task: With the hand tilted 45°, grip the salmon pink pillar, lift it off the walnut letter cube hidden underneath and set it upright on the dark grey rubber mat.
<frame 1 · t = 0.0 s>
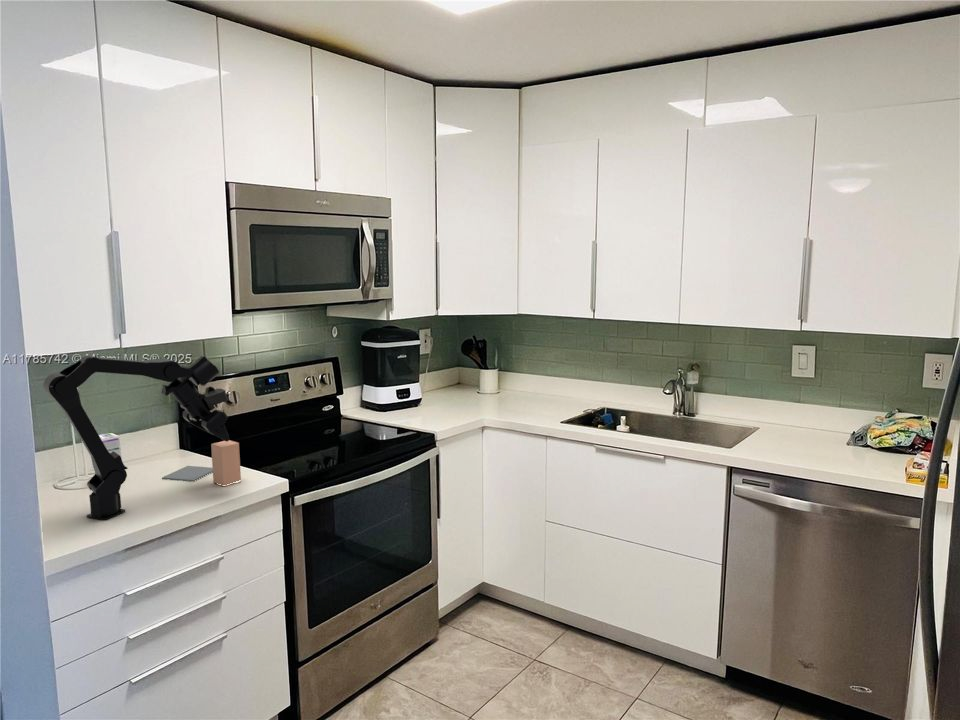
hand: (221, 437, 193), 15 cm above the worktop, tool tilted 35°, fingers open, 9 cm apart
letter cube: (226, 476, 199), in the salmon pink pillar
salmon pink pillar: (227, 482, 199), on the worktop
syrup box: (110, 483, 199), on the worktop
rubber mat: (190, 474, 207), on the worktop
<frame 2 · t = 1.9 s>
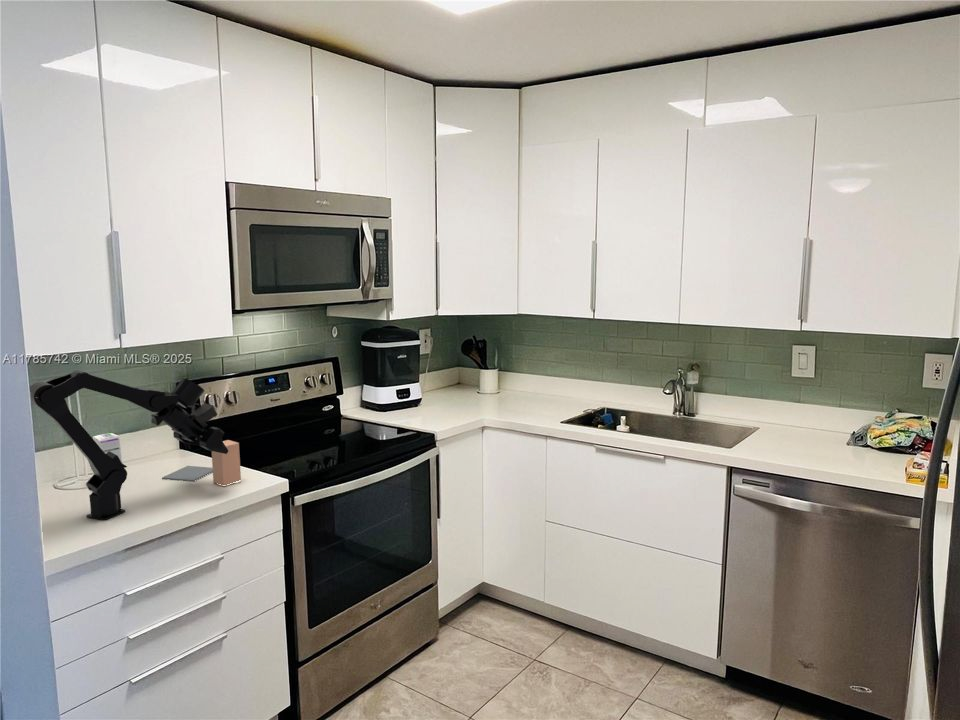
hand: (218, 449, 196), 11 cm above the worktop, tool tilted 45°, fingers open, 9 cm apart
nothing on the worktop moved.
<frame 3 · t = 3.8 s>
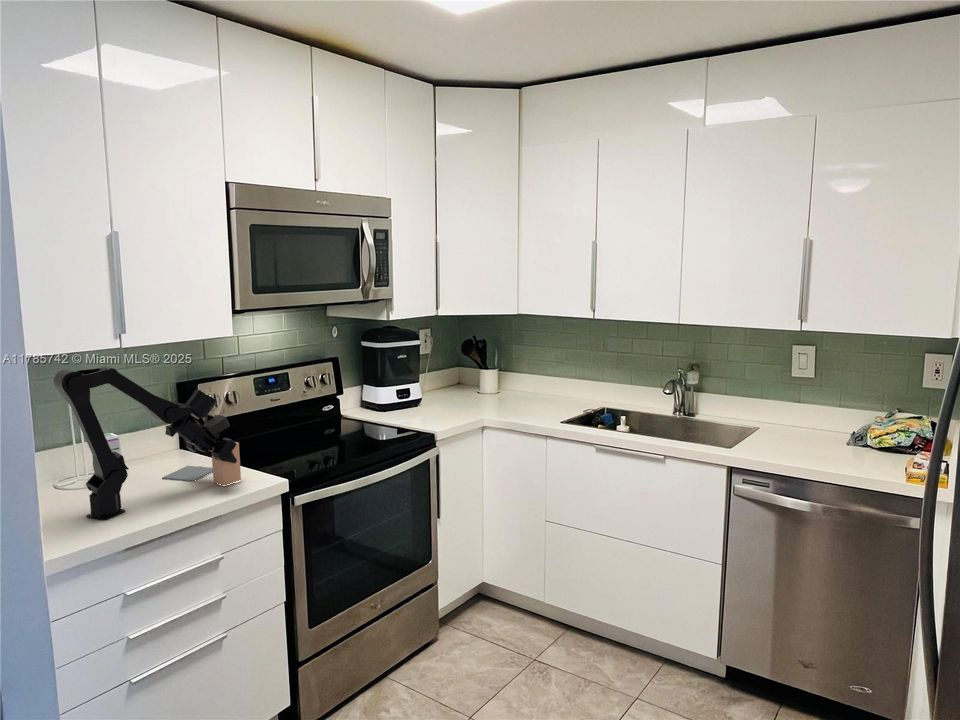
hand: (230, 460, 199), 7 cm above the worktop, tool tilted 45°, fingers closed on salmon pink pillar, 6 cm apart
salmon pink pillar: (227, 482, 199), on the worktop, touching gripper
everything else where it was.
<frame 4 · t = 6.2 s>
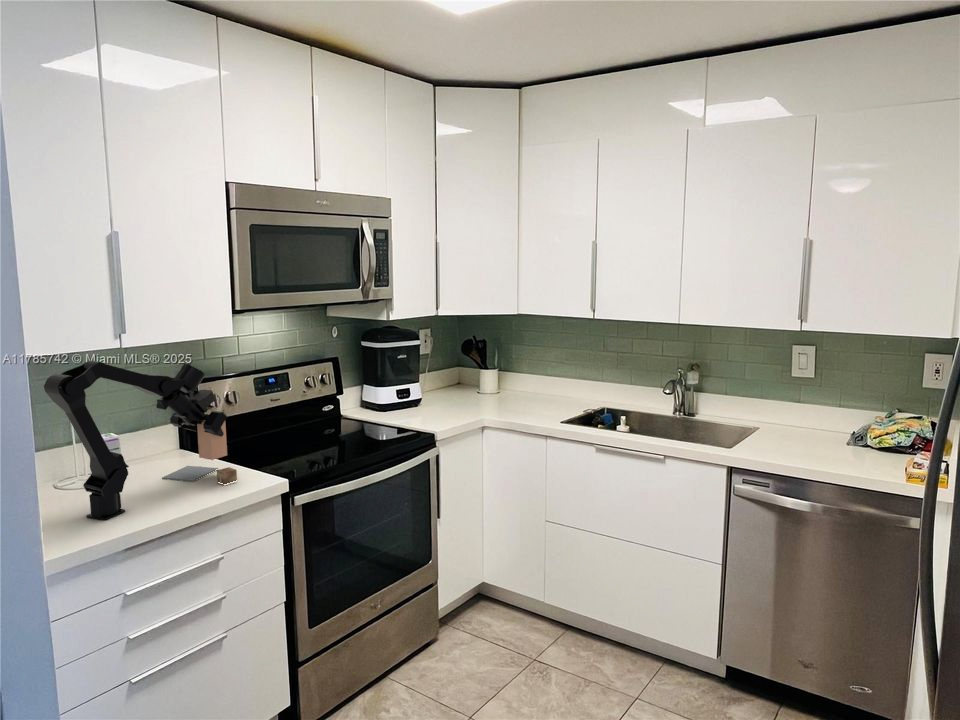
hand: (215, 434, 202), 13 cm above the worktop, tool tilted 45°, fingers closed on salmon pink pillar, 6 cm apart
salmon pink pillar: (213, 456, 202), point 7 cm above the worktop, touching gripper
everything else where it was.
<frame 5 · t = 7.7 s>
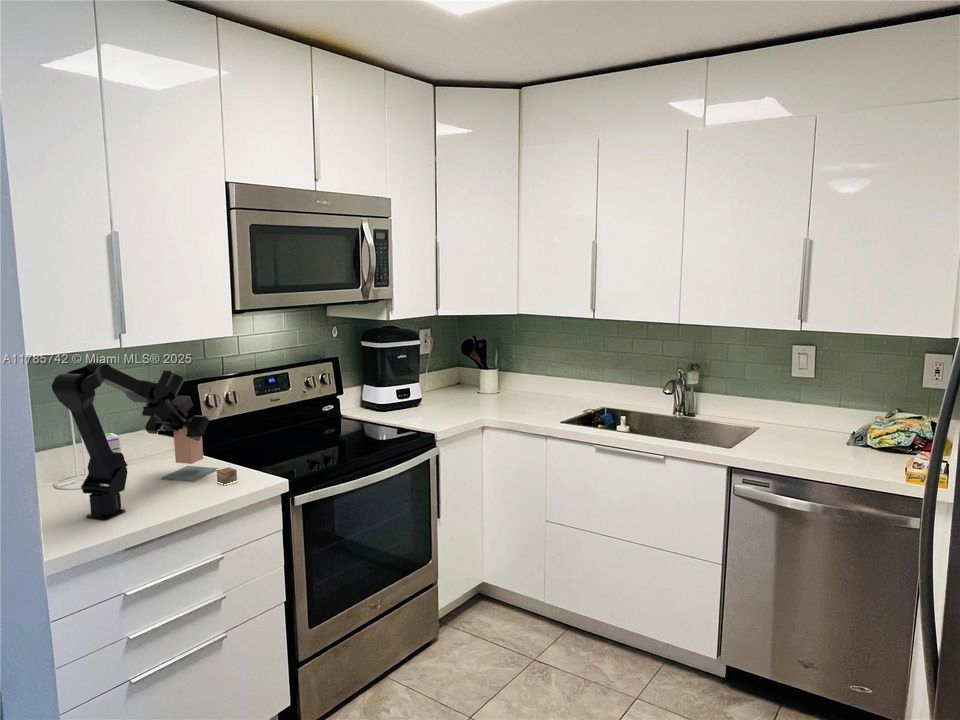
hand: (191, 438, 206), 11 cm above the worktop, tool tilted 45°, fingers closed on salmon pink pillar, 6 cm apart
salmon pink pillar: (189, 460, 206), point 4 cm above the worktop, touching gripper
everything else where it was.
when the fingers open (8 cm above the worktop, at t = 9.0 s): salmon pink pillar drops 1 cm, resting on rubber mat.
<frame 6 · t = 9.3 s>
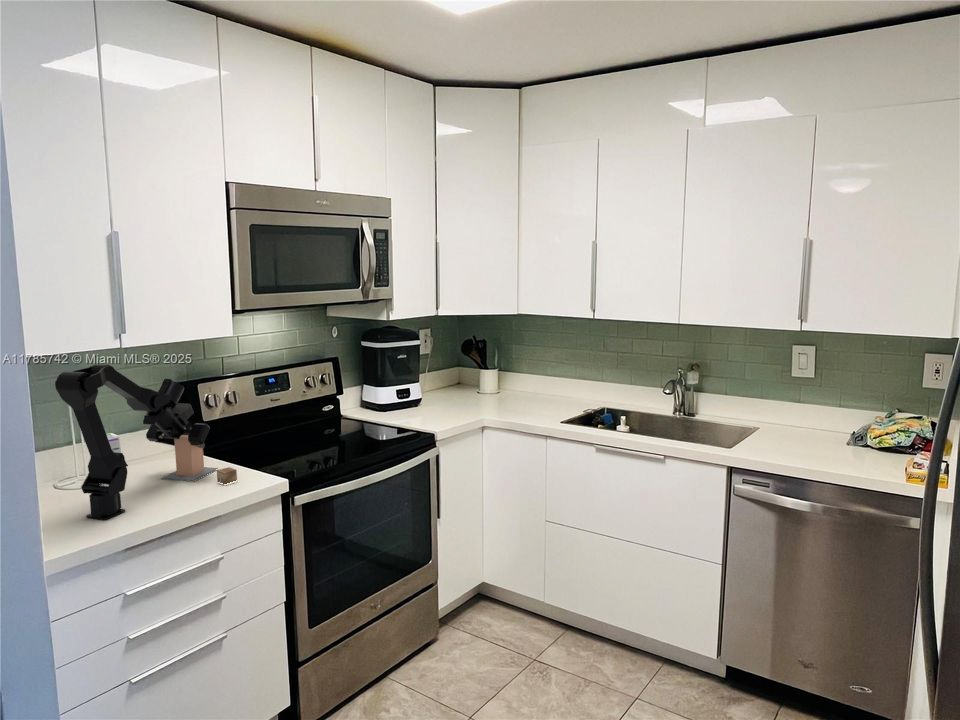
hand: (191, 446, 207), 9 cm above the worktop, tool tilted 45°, fingers open, 8 cm apart
salmon pink pillar: (190, 472, 207), point 1 cm above the worktop, touching rubber mat
everything else where it was.
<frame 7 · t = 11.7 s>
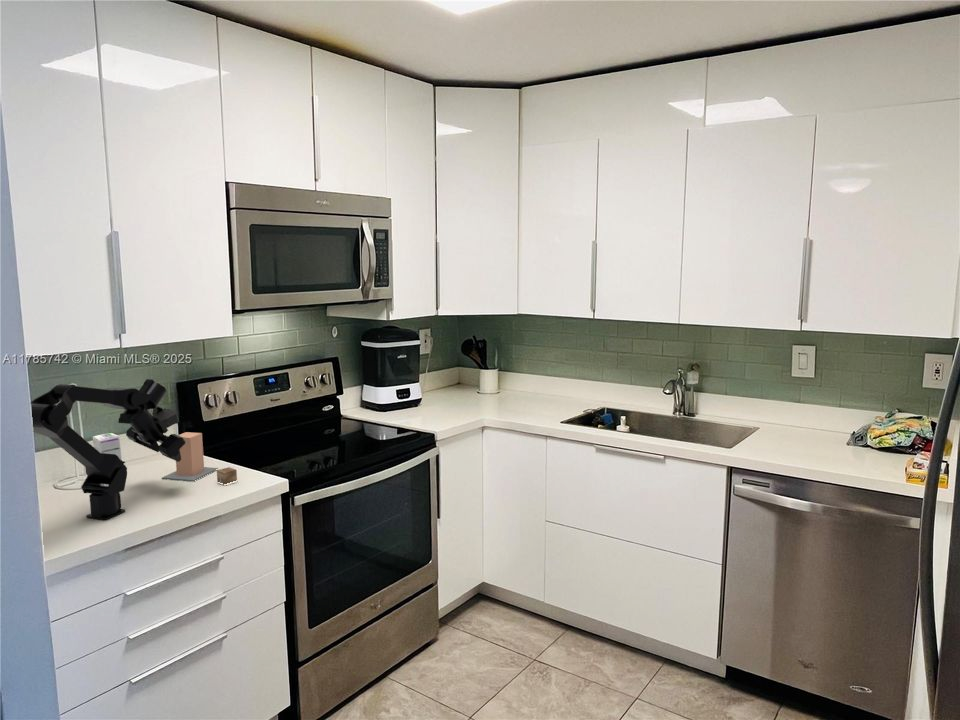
hand: (169, 455, 196), 9 cm above the worktop, tool tilted 35°, fingers open, 9 cm apart
nothing on the worktop moved.
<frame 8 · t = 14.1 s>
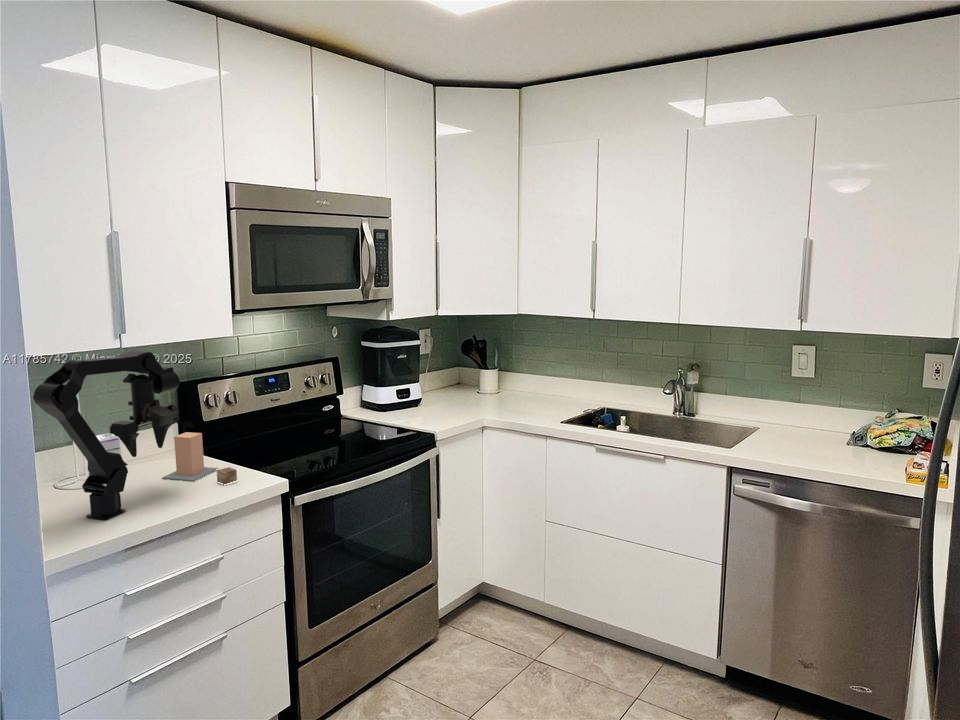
hand: (147, 452, 185), 13 cm above the worktop, tool pointing down, fingers open, 9 cm apart
nothing on the worktop moved.
at the end: salmon pink pillar inside the target area (0.0 cm from its centre), point 0.5 cm above the worktop; salmon pink pillar tilted 0° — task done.
